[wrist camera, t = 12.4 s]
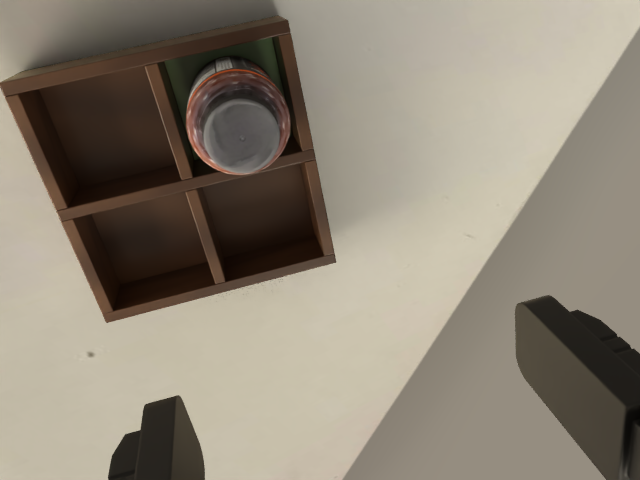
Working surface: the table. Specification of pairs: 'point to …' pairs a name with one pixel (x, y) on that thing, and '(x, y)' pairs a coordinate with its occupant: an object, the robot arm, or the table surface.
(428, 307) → the table surface
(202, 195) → the box
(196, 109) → the supplement bottle
